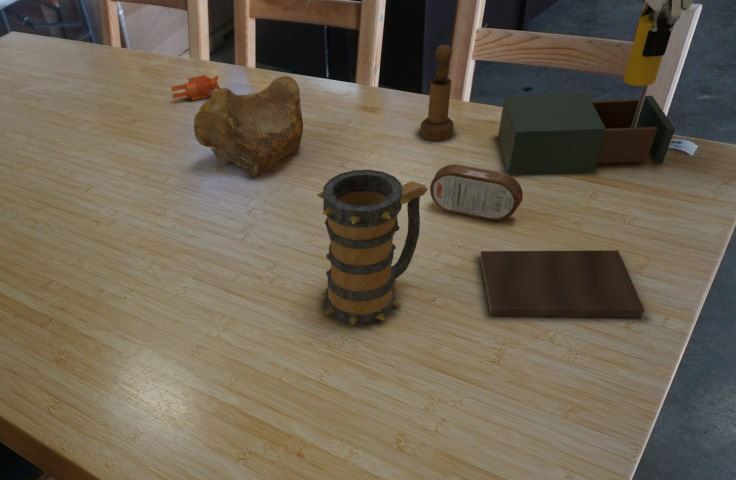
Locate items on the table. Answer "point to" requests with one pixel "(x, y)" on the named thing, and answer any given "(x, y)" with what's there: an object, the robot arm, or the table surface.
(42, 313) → the table surface
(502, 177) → the tin
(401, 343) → the table surface
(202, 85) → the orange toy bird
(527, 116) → the cabinet
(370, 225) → the mug
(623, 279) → the board
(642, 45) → the yellow bottle
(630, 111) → the drawer
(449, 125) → the mortar and pestle
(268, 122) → the rough brown rock
